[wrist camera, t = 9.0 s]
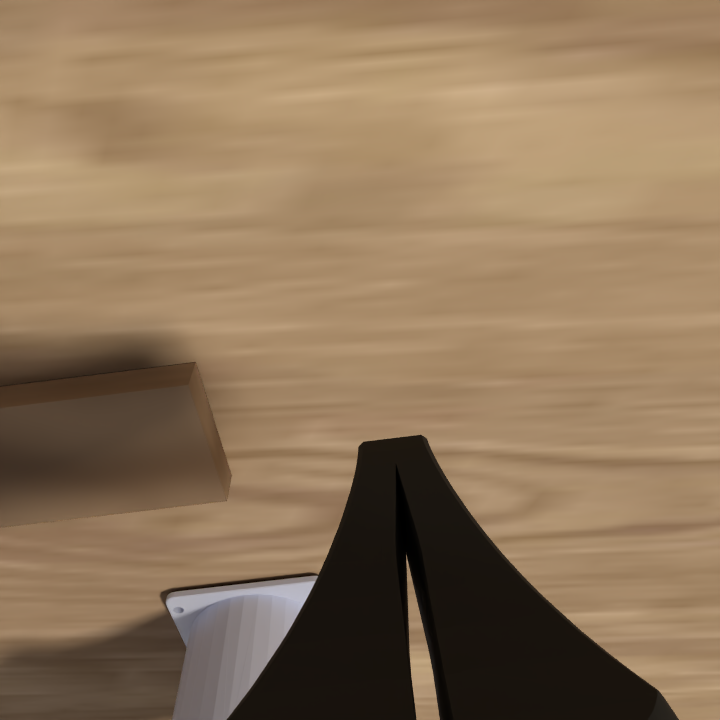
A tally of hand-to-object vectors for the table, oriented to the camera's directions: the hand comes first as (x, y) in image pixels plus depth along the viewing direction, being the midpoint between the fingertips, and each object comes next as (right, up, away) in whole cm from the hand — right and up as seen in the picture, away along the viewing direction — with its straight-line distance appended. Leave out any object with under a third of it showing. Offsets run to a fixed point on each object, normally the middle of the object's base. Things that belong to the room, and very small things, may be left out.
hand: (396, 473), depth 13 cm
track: (-18, -1, +12) cm, 22 cm away
